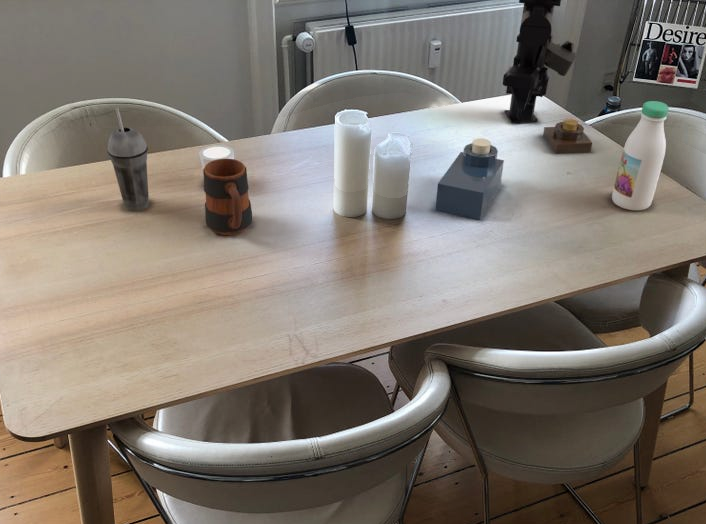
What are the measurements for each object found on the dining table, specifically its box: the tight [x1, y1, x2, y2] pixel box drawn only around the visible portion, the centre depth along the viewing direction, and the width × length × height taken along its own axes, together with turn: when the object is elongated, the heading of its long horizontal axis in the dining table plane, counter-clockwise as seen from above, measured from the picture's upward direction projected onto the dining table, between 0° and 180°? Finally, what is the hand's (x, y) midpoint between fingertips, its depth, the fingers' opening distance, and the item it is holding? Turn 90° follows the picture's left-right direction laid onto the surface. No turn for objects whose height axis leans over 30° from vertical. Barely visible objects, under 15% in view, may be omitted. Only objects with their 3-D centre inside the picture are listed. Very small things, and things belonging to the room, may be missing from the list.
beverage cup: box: [107, 107, 150, 212], centre depth 154 cm, size 7×7×20 cm
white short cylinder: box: [471, 137, 492, 155], centre depth 164 cm, size 4×4×2 cm
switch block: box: [542, 121, 593, 155], centre depth 184 cm, size 9×8×4 cm
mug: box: [202, 158, 253, 236], centre depth 151 cm, size 9×12×12 cm
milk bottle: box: [611, 100, 670, 211], centre depth 159 cm, size 8×8×20 cm
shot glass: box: [198, 144, 235, 170], centre depth 166 cm, size 7×7×7 cm
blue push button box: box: [434, 142, 505, 221], centre depth 163 cm, size 16×9×8 cm, turn 157°
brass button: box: [562, 118, 579, 131], centre depth 183 cm, size 3×3×2 cm
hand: (523, 107), depth 171 cm, fingers open, 3 cm apart
